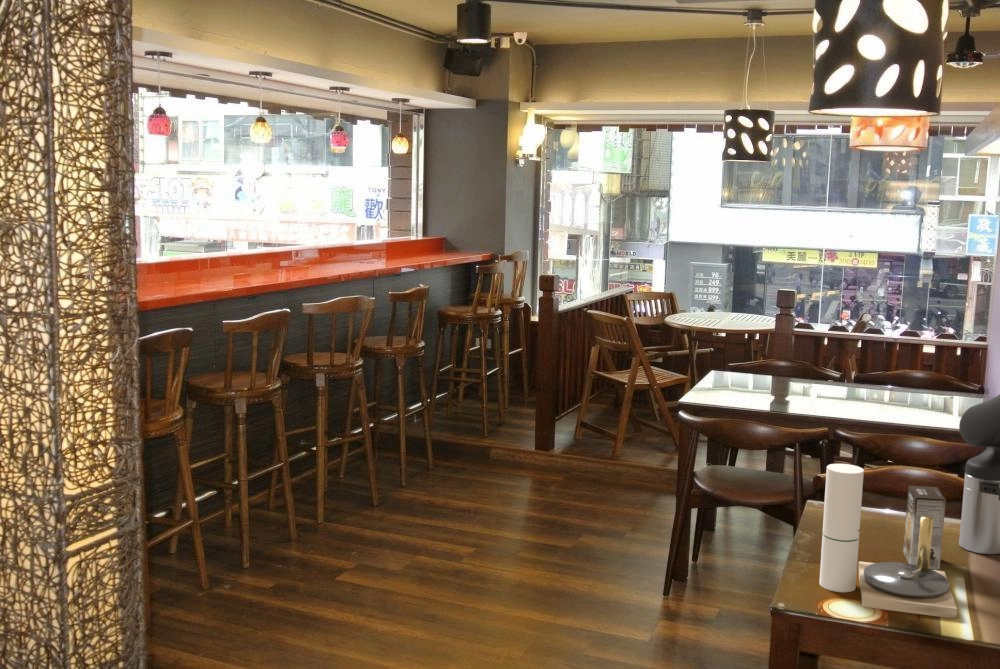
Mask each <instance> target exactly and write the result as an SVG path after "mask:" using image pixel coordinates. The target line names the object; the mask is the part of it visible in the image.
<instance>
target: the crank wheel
mask: <svg viewBox="0 0 1000 669" xmlns="http://www.w3.org/2000/svg"><path fill="white" fill-rule="evenodd" d="M932 528H933V518H932V517H930V516H921V519H920V532H919V545H918V557H917V565H913V564H909V563H908V562H906V563H905V562H900V561H898V562H897V561H882V562H873V563H874V564H871V565H868V566H867V567H866V568H865V569H864V575H863V577H864V580H865V581H866V582H867V583H868V584H869V585H870V586H872V587H874V588H876V589H878V590H880V591H883V592H886V593H889V594H893V595H897V596H902V597H909V598H934V597H939V596H942V595H944V594H946V593H947V591H948V583H949V580H948V578H947V579H946V578H945V577H944V576H943V575H941V574H940V573H938V572H936V571H933V570H934V569H929V566H930V553H931V541H932Z"/></svg>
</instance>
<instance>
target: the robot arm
mask: <svg viewBox="0 0 1000 669" xmlns="http://www.w3.org/2000/svg"><path fill="white" fill-rule="evenodd" d="M959 434H960V436H961V438H962V439H963V441H965V443H967V444H968V445H970V446H974V447H979V448H980V447H981V448H983V447H984V448H986V449H985V450H984V451H982V452H981V453H980V454H978V455H976V456H974V457H971V458H969V459H968V460H966V463H965V469H964V481H963V494H962V507H961V517H960V527H959V528H960V529H959V541H958V545H959V546H960V547H961V548H962V549H965V550H967V551H970V552H973V553H976V554H984V555H985V554H986V555H997V554H1000V393H999V394H998V395H997V396H994V397H992V398H991V399H988V400H985V401H982V402H980V403H978V404H975V405H972V406H970V407H969V408H967V409H966V410H965V411H964V412H963V414H962V415H961V417H960V420H959Z"/></svg>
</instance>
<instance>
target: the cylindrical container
mask: <svg viewBox="0 0 1000 669" xmlns="http://www.w3.org/2000/svg"><path fill="white" fill-rule="evenodd" d="M864 471H865V470H864V468H862V467H860V466H858V465H854V464H850V463H849V464H848V463H830V464H828V465H827V466H826V473H825V486H824V487H825V489H824V505H823V517H822V518H823V519H822V520H823V523H822V538H821V549H820V550H821V552H820V564H819V565H820V568H819V583H818V584H819V586H821V587H822V588H824V589H825V590H828V591H830V592H837V593H850V592H854V591H855V590H856V587H857V576H858V575H857V574H858V572H857V571H858V562H859V561H858V559H859V545H860V544H859V543H860V530H861V529H860V528H861V517H862V516H861V515H862V501H863V488H864V487H863V486H864V485H863V484H864V474H865V472H864Z"/></svg>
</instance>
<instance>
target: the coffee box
mask: <svg viewBox="0 0 1000 669" xmlns="http://www.w3.org/2000/svg"><path fill="white" fill-rule="evenodd" d="M945 510H946V498H945V496H944V495H943V493H942V492H941V490H940V488H939V487H938V486H922V485H920V486H919V485H908V489H907V498H906V513H905V526H904V537H903V538H904V540H903V555H904V557H905V559H906V561H907V564H913V565H917V557H918V545H919V532H920V519H921V516H930V517H932V518H933V528H932V541H931V553H930V566H929V569H931V570H938V571H941V559H942V545H943V544H942V543H943V533H944V524H945V514H946V513H945Z"/></svg>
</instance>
